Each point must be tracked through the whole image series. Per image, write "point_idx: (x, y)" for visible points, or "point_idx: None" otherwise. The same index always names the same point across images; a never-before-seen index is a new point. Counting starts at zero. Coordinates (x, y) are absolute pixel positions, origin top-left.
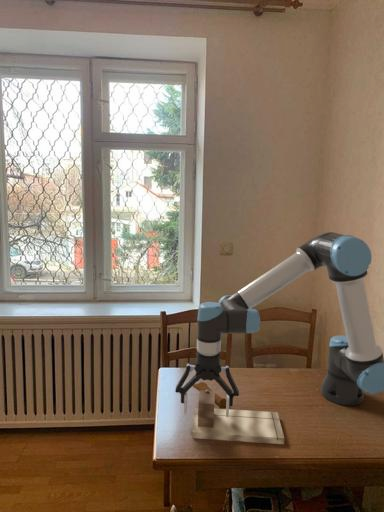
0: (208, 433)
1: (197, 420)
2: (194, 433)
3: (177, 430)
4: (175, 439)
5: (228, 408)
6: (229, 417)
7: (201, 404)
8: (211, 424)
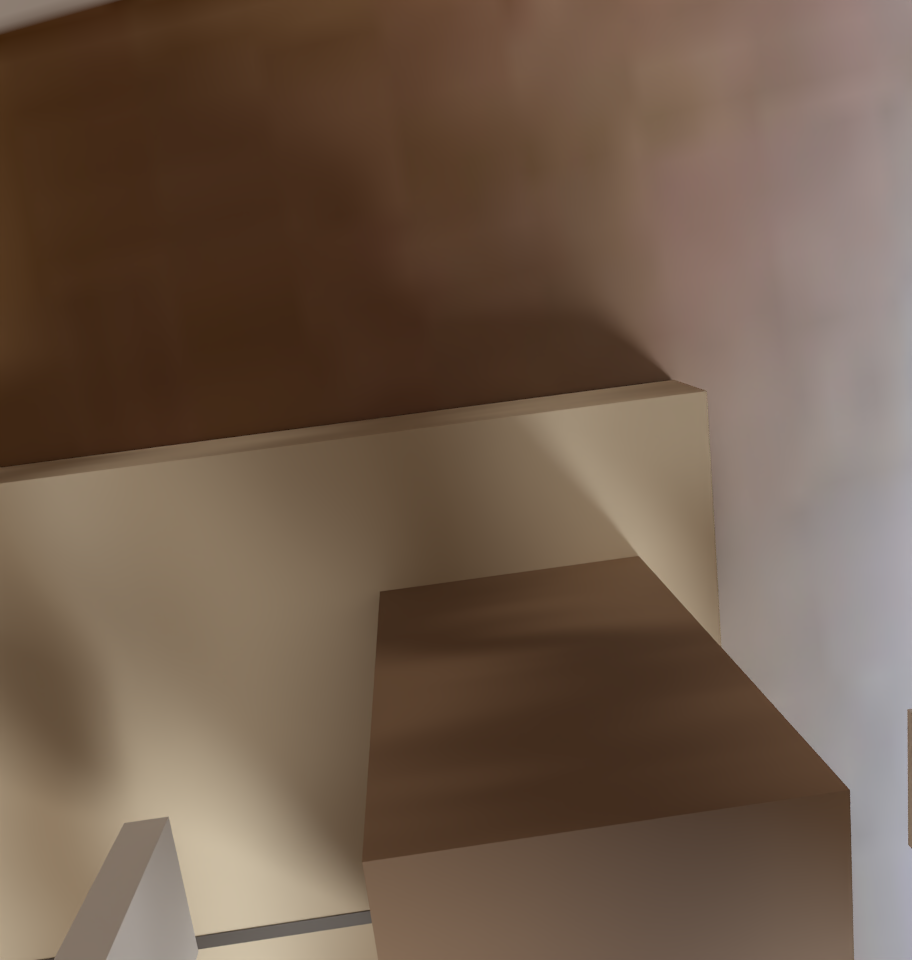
0: (439, 426)
1: None
2: (663, 393)
3: (903, 503)
4: (908, 291)
5: (67, 953)
6: None
7: (743, 782)
8: (417, 606)
